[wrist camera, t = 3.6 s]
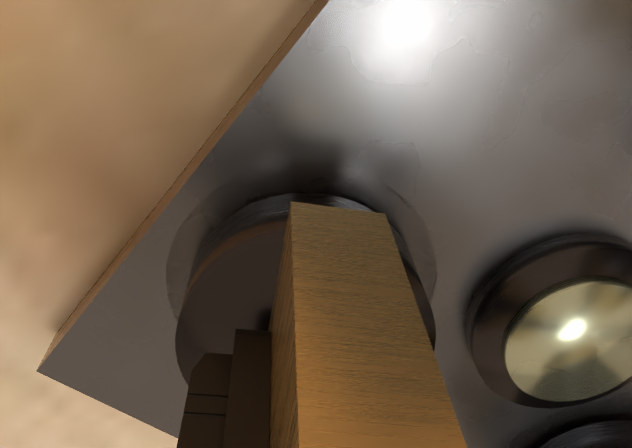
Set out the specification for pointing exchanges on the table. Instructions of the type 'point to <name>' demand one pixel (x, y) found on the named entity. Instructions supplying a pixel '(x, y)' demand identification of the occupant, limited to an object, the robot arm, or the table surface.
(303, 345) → the knob
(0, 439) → the table surface
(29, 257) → the table surface
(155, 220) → the plate
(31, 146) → the table surface
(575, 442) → the knob
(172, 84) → the table surface
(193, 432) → the robot arm
